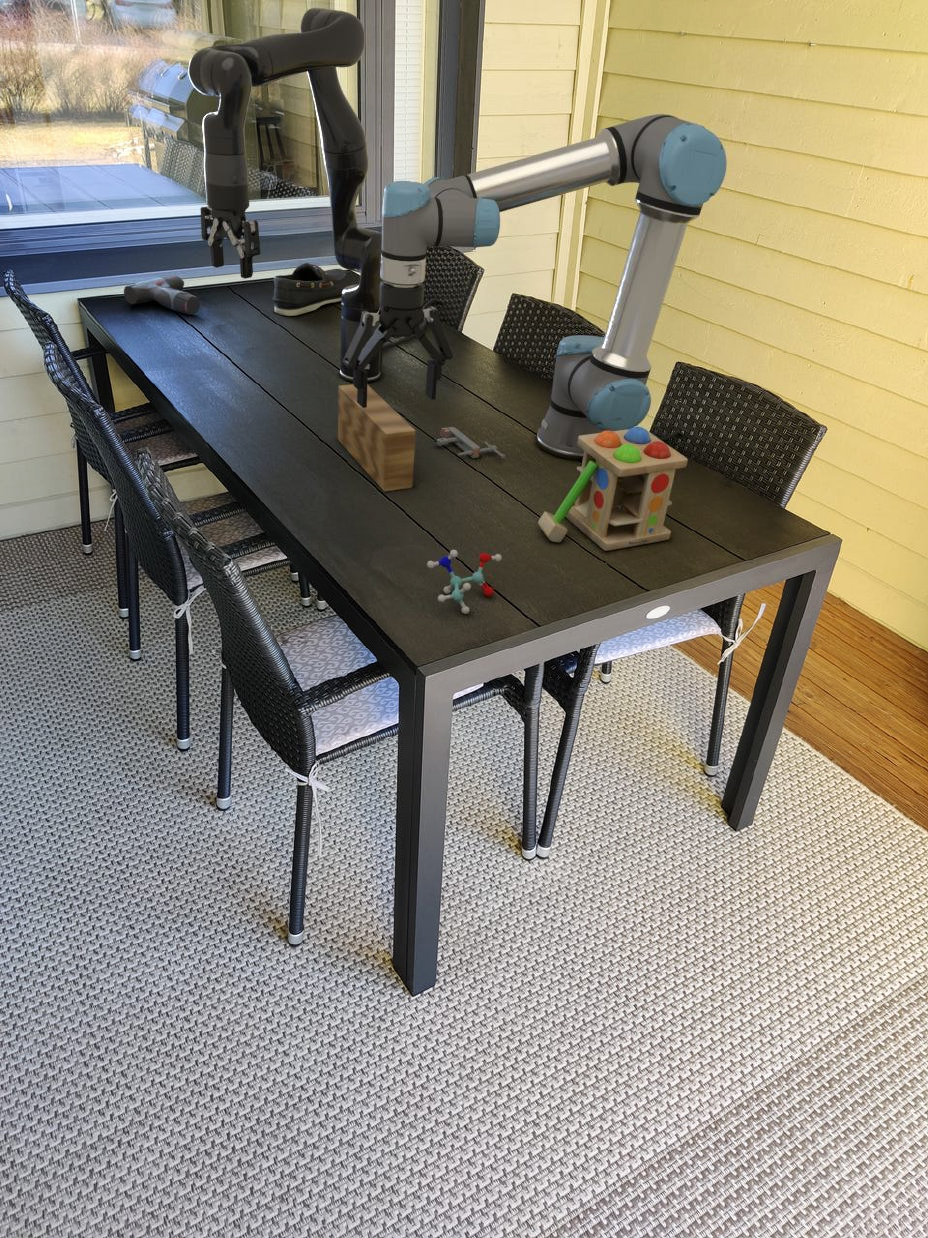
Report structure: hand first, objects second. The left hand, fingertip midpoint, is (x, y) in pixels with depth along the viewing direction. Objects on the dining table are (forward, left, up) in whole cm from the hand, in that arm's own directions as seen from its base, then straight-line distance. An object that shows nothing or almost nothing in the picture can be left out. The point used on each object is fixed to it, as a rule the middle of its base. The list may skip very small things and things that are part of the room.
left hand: (232, 271), depth 184 cm
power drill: (-48, -68, -32) cm, 89 cm away
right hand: (-2, +38, -15) cm, 41 cm away
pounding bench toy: (-12, +77, -32) cm, 84 cm away
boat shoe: (-78, -46, -32) cm, 96 cm away
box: (-7, +30, -32) cm, 44 cm away
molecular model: (+23, +70, -32) cm, 80 cm away
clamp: (-24, +40, -32) cm, 57 cm away
